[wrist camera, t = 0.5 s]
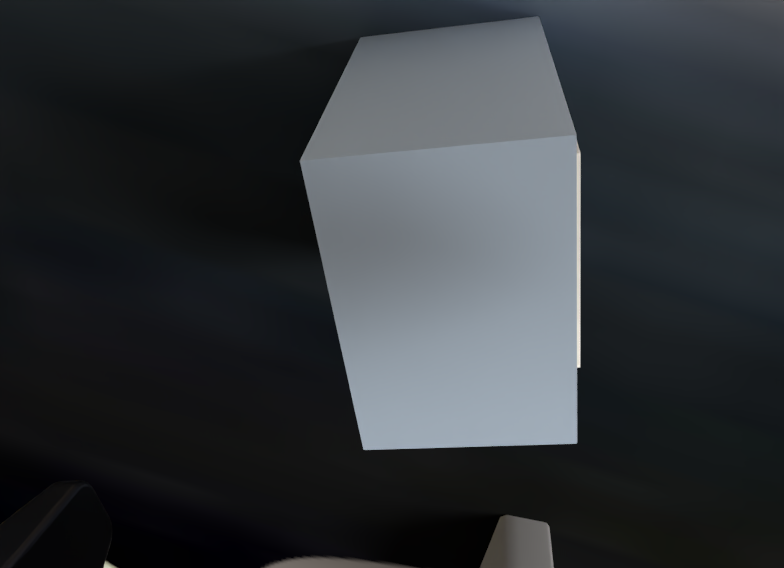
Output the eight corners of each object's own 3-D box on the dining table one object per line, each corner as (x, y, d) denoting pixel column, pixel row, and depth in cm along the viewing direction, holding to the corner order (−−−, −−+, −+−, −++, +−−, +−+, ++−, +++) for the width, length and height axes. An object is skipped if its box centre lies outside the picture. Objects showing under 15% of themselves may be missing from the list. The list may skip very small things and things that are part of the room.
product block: (547, 14, 16) (590, 133, 10) (553, 249, 19) (588, 443, 13) (360, 37, 17) (300, 160, 11) (395, 260, 20) (363, 449, 14)
